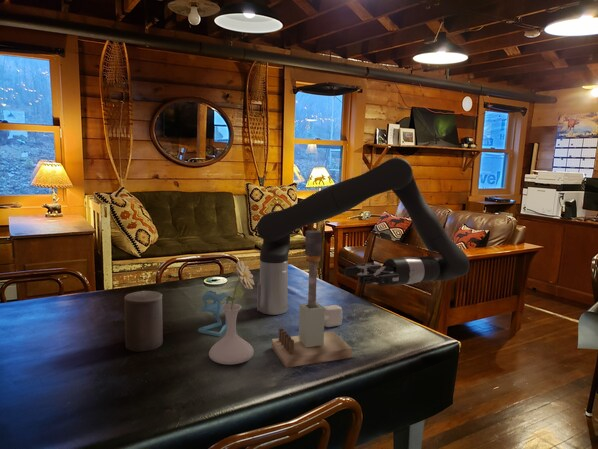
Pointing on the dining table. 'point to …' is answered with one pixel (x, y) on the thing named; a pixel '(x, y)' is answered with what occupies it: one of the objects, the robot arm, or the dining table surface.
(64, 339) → the dining table surface
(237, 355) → the flower in vase
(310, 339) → the square hollow tube
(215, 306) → the chair
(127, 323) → the pillar candle
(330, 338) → the post
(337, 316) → the power adapter
